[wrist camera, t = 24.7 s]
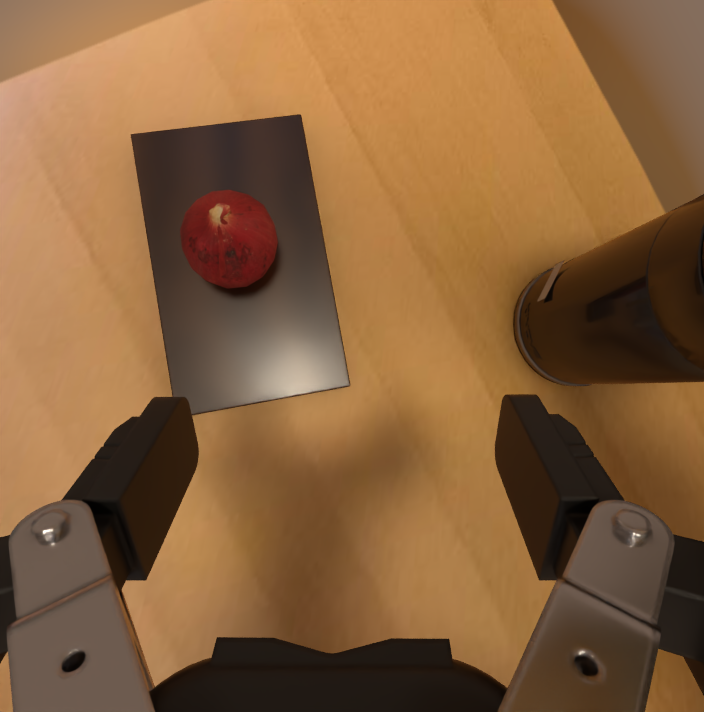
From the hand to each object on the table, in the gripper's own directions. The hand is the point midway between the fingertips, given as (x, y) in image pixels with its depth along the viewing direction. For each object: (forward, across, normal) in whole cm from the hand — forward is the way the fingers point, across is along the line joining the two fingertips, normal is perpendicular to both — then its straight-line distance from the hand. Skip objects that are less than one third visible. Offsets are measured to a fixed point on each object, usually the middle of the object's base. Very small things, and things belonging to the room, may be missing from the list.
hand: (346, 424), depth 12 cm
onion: (+22, -8, -2) cm, 24 cm away
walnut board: (+24, -8, -3) cm, 25 cm away
